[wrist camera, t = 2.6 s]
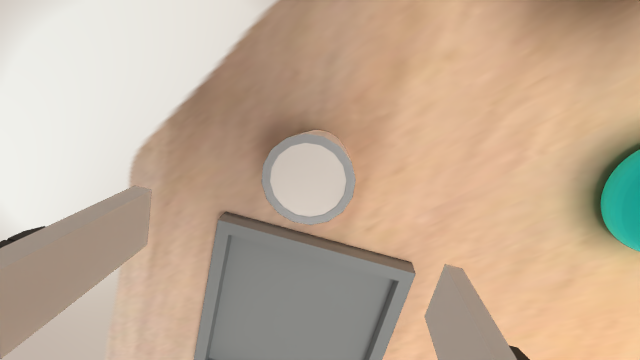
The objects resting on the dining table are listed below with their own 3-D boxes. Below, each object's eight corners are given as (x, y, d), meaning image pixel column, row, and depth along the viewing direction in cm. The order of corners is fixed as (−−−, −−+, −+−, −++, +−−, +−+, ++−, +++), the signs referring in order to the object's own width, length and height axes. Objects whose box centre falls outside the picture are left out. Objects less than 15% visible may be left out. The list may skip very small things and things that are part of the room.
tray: (226, 211, 33) (218, 219, 31) (411, 262, 32) (415, 273, 30) (199, 358, 38) (191, 373, 36) (358, 403, 38) (358, 420, 36)
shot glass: (366, 178, 30) (370, 204, 24) (300, 206, 32) (287, 238, 25) (335, 109, 29) (330, 117, 22) (267, 141, 30) (244, 157, 24)
